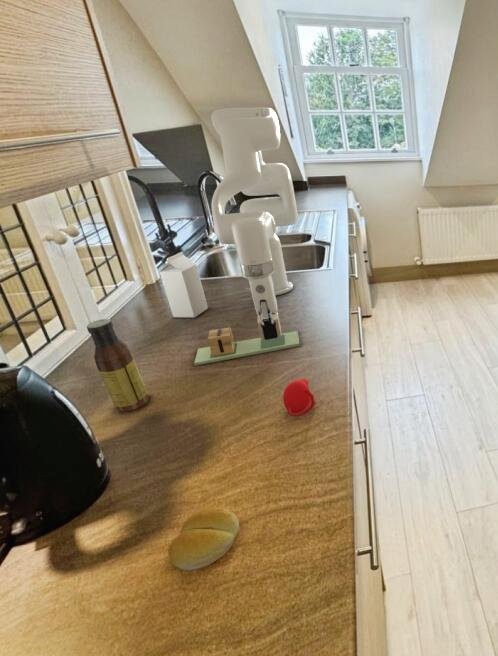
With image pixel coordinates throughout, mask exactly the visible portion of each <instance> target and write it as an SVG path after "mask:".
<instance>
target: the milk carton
mask: <svg viewBox="0 0 498 656" xmlns="http://www.w3.org/2000/svg"><path fill="white" fill-rule="evenodd" d="M199 273H200V272H199V269H198V266H197V263H196V262H195V261H193V260H192V259H190V258H188V257H187V256H185V254H184V252H183V251H180V252H178V253H176V254H174V255H172V256H169V257H167V258H166V261H165V264H164V265H163V267H162V268H161V270H159V275H160V277H161V281H162V285H163V288H164V291H165V294H166V297H167V300H168V304H169V307H170V310H171V314H172V318H197V317H198V316H199V315H201V314H202V313H203V312H205V311H207V310H208V309H209V307H208V303H207V300H206V295H205V291H204V288H203V284H202V280H201V277H200V274H199Z"/></svg>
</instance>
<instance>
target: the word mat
mask: <svg viewBox="0 0 498 656" xmlns="http://www.w3.org/2000/svg"><path fill="white" fill-rule="evenodd" d="M234 342H235V347H234V353H229V354H224V355H218V356H213V357H212V353H211V350H210V346H206V347H200V348H197V351H196V356H195V359H194V362H193V364H194V366H201V365H205V364H212V363H216V362H222V361H227V360H231V359H232V360H233V359H237V358H243V357H248V356H253V355H259V354H264V353H270V352H275V351H280V350H285V349H291V348H297V347H300V337H299V332H298V330H295V331H289V332H284V333H281V337H277V338H274V339H268V340H261V337H256V338H250V339H246V340H239V341H234Z"/></svg>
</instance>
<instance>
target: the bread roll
mask: <svg viewBox="0 0 498 656" xmlns="http://www.w3.org/2000/svg"><path fill="white" fill-rule="evenodd" d="M239 528H240V521H239V518H238V516H237V515H236V514H235V513H234V512H233V511H232V510H229V509H228V508H224V507H219V506H218V507H217V506H213V507H210V506H209V507H206V508H203V509H200V510H198V511H196V512H195V513H193V514H192V515H190V516H189V517H187V519H186V520H185V521H184V522H183V524H182V526H181V528H180V532H179V535H178V536H176V537H175V538H174V539H173V540H172V541H171V543H170V545H169V547H168V551H167V555H168V559H169V561H170V562H171V564H172V565H174V566H175V567H177V569H180V570H182V571H196V570H199V569H203V568H205V567H208V566H209V565H211V564H213V563H214V562H215V561H217V560H219V559H221V558H222V557H223V556H225V554H226V553H227V552H228V551H229V550H230V548H231V547H232V545H234V544H233V543H234V541H235V539H236V536H237V534H238V532H239Z"/></svg>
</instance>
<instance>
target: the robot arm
mask: <svg viewBox="0 0 498 656" xmlns="http://www.w3.org/2000/svg"><path fill="white" fill-rule="evenodd" d="M210 120H211V124H212V127H213V128H214V130H215V132H216V134H218V136H219V137H220V142H221V149H222V155H223V163H224V169H225V176H224V177H223V178H222V180H221V181H220V182H219V184H218V185H217V186H216V188H215V190H214V192H213V195H212V198H211V204H210V205H211V214H212V215H211V216H212V223H213V230H214V233H215V236H216V239H217V240H218V241H219V242H220V243H221V244H224V245H235V250H236V254H237V259H238V262H239V267H240V272H241V276H242V278H244V279H247V280H248V283H249V289H250V294H251V297H252V302H253V305H254V309H255V312H256V315H257V316H258V315H259V316H261V321H262V329H263V334H264V339H265V340H268V339H274V338H277V337H278V335H277V330H276V325H275V323H274V321H273V316H272V313H277V312H278V310H279V309H278V299H277V296H280V295H284V294H287V293H288V292H290V291H292V290H293V289H294V283H293V282H291V281H288V277H287V270H286V265H285V260H284V255H283V254H284V253H283V249H282V244H281V240H280V238H279V236H278V235H277V234H276V232H277V227H287V226H292V225H295V224H297V222H298V219H299V212H298V206H297V201H296V196H295V195H296V194H295V190H294V189H295V188H294V184H293V179H292V173H291V171H290V169H289V167H288V166H287V165H286V164H285V163H281V162H269V163H267V162H266V163H265V162H264V159H263V154H262V152H264V151H276V150H278V149H279V148H280V145H281V133H280V131H281V130H280V123H279V118H278V115H277V114H276V112H275V110H274V109H272V107H267V106H266V107H227V108H221V109H216V110H214V111H213V112H212V113H211V115H210ZM239 193H242V194H243V195H245V196H249V197H255V196H258V197H259V196H268V195H278V196H271V197H270V196H269V197H259V198H251V199H247V200H244V201H242V202H241V204H240V206H239V212H235V213H234V212H233V213H226V206H227V204H228V202H229V201H230V200H231V199H232V198H233V197H234V196H236V195H238V194H239ZM268 315H270V317H269V316H268Z"/></svg>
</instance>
